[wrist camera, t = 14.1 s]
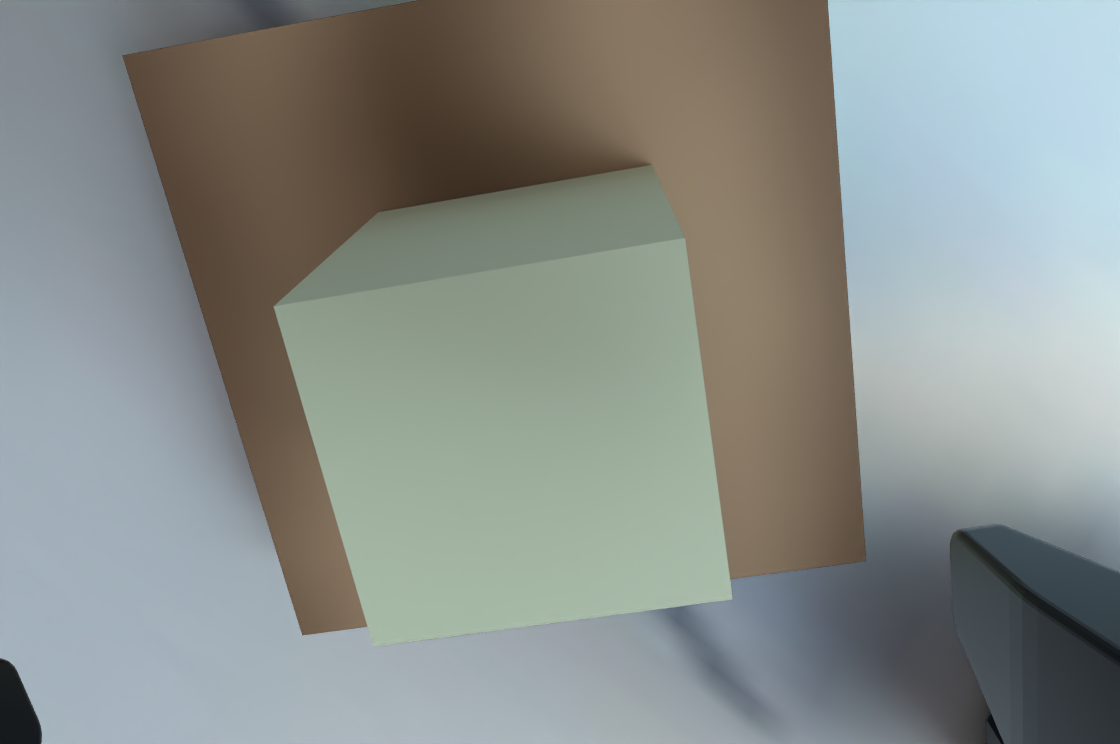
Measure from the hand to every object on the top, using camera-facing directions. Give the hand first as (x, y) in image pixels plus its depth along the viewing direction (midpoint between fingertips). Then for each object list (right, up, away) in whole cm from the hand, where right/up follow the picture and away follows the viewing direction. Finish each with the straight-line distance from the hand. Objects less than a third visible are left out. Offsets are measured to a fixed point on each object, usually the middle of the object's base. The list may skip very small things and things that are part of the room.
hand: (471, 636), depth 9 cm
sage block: (0, +3, +9) cm, 9 cm away
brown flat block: (0, +5, +13) cm, 14 cm away
